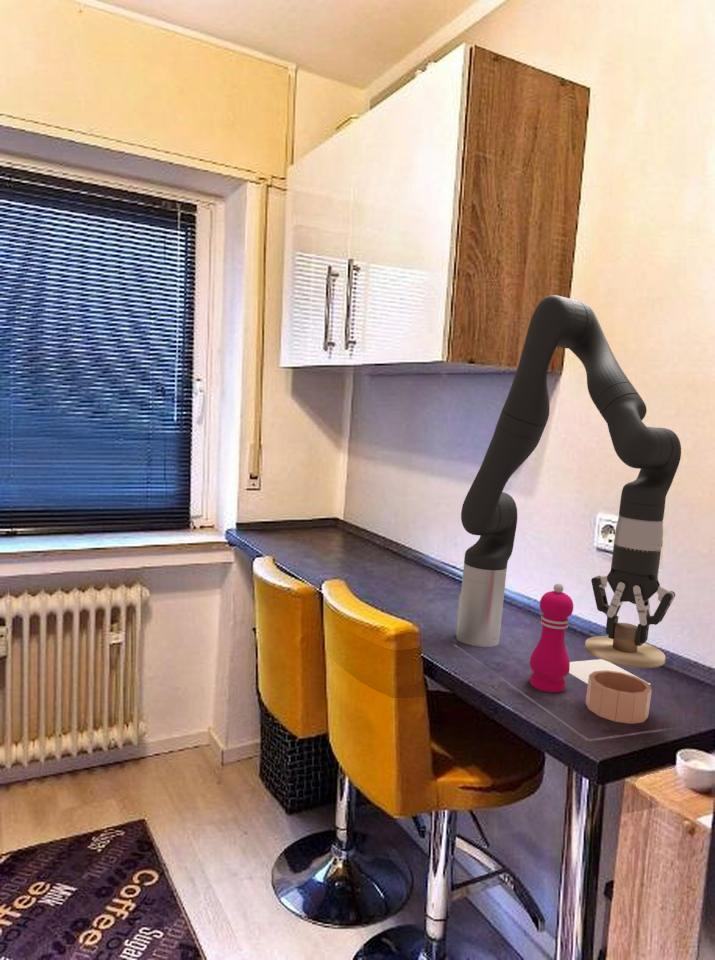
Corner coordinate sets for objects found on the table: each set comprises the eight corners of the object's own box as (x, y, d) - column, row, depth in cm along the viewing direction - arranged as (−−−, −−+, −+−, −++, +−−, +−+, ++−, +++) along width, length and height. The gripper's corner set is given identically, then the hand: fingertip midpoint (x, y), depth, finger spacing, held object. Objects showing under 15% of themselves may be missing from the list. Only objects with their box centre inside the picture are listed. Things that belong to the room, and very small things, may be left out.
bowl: (574, 702, 123) (577, 672, 122) (617, 697, 126) (621, 668, 126) (614, 728, 113) (618, 696, 113) (659, 722, 117) (664, 691, 117)
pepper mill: (573, 688, 129) (585, 585, 126) (556, 699, 123) (569, 591, 121) (538, 676, 133) (549, 576, 131) (520, 685, 128) (531, 582, 126)
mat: (553, 665, 140) (553, 663, 140) (603, 661, 145) (604, 658, 145) (597, 692, 128) (598, 690, 128) (650, 686, 133) (651, 684, 133)
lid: (569, 642, 122) (572, 616, 122) (625, 638, 127) (628, 613, 127) (622, 670, 110) (625, 641, 110) (682, 664, 115) (685, 637, 115)
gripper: (588, 539, 118) (577, 635, 120) (676, 554, 109) (663, 658, 111) (602, 534, 124) (592, 626, 126) (687, 549, 115) (674, 647, 117)
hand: (625, 640), depth 118 cm, fingers closed on lid, 4 cm apart
